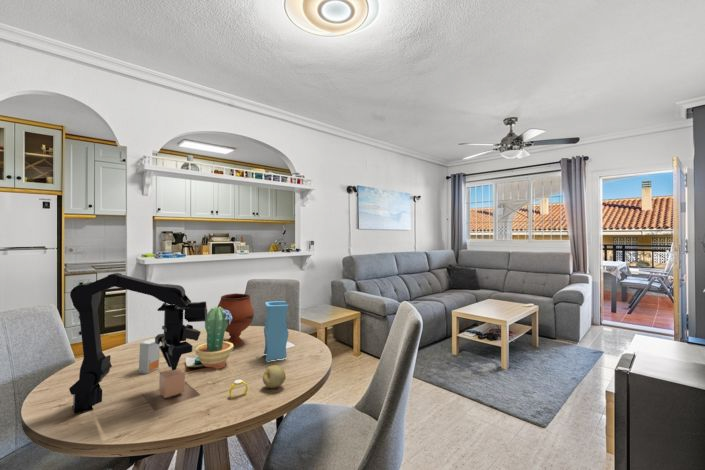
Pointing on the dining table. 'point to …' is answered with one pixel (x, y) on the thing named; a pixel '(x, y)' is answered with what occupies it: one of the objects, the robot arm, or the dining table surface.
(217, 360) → the potted cactus
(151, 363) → the skincare box
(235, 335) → the brown clay urn
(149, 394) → the board
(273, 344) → the vase
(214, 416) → the dining table surface
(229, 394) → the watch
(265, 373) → the fruit
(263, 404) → the dining table surface
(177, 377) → the salmon pink rectangular prism
